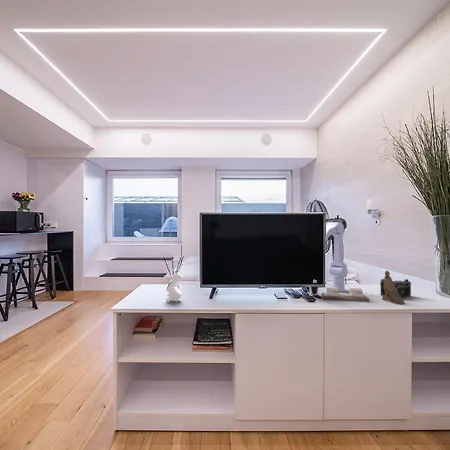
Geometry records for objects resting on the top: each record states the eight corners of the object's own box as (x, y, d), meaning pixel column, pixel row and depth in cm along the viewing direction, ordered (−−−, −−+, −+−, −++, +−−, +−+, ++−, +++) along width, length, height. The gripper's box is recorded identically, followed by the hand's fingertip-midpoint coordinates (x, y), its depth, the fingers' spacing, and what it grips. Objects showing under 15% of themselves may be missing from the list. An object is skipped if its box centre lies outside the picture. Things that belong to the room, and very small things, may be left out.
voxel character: (159, 290, 171) (174, 269, 170) (175, 302, 171) (191, 281, 170) (156, 293, 163) (172, 271, 163) (173, 306, 163) (189, 284, 163)
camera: (385, 299, 169) (385, 281, 169) (378, 295, 178) (378, 278, 178) (418, 299, 168) (418, 281, 168) (409, 295, 177) (409, 278, 177)
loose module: (309, 294, 180) (309, 283, 180) (317, 294, 179) (317, 283, 179) (310, 296, 175) (310, 284, 175) (318, 297, 174) (318, 285, 174)
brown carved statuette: (381, 303, 168) (376, 271, 172) (389, 302, 169) (384, 271, 173) (397, 304, 157) (391, 270, 160) (406, 304, 158) (400, 269, 162)
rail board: (321, 295, 178) (321, 285, 178) (364, 297, 173) (364, 287, 173) (323, 299, 168) (323, 289, 168) (369, 301, 163) (369, 291, 163)
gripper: (306, 268, 185) (306, 289, 185) (307, 272, 171) (307, 295, 171) (318, 268, 183) (318, 290, 184) (320, 272, 169) (320, 296, 169)
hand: (313, 293), depth 177 cm, fingers closed on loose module, 5 cm apart
